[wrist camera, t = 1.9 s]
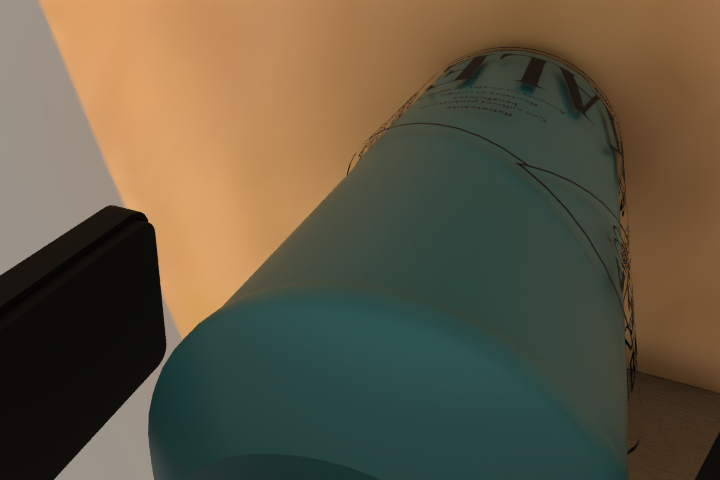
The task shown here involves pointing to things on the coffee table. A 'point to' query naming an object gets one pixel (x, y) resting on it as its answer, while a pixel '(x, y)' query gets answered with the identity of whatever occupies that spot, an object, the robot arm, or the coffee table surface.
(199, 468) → the beverage bottle
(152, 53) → the coffee table surface
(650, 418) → the motor housing
